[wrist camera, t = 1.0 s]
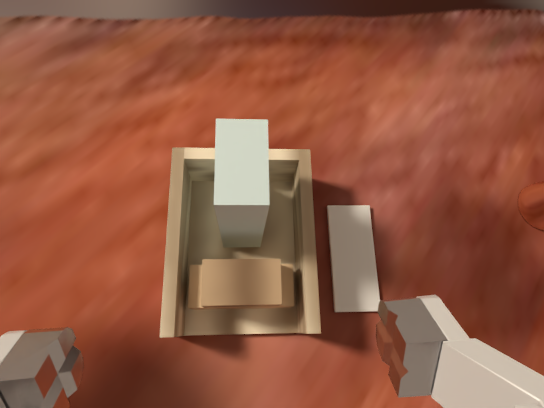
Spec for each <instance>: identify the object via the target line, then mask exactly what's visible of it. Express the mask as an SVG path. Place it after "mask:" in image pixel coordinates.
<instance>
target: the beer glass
mask: <svg viewBox="0 0 544 408" xmlns="http://www.w3.org/2000/svg"><path fill="white" fill-rule="evenodd" d="M518 208H519V211H520V213H521V215H522V217H523V218H524V219H525V220H526V221H527V222H528V223H529V224H530V225H531V226H533V227H535V228H537V229H540V230H544V181H542V182H538V183H534V184H530V185H528V186H526V187H525V188H523V189H522V190H521V192H520V194H519V196H518Z"/></svg>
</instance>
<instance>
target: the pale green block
mask: <svg viewBox="0 0 544 408" xmlns="http://www.w3.org/2000/svg"><path fill="white" fill-rule="evenodd" d="M269 205H270V200H269V154H268V120H257V119H216V138H215V174H214V209H215V213H216V217H217V221H218V226H219V230H220V234H221V238H222V242H223V247H224V248H228V247H260V246H261V242H262V237H263V233H264V228H265V224H266V219H267V215H268V210H269Z"/></svg>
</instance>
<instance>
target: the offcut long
mask: <svg viewBox="0 0 544 408" xmlns="http://www.w3.org/2000/svg"><path fill="white" fill-rule="evenodd" d="M201 287H202V265H190V274H189V296H188V308H190V309H193V310H207V309H258V308H290V307H293V306H294V282H293V264H281V289H282V305H280V306H259V307H207V308H204V307H202V306H201Z"/></svg>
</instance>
